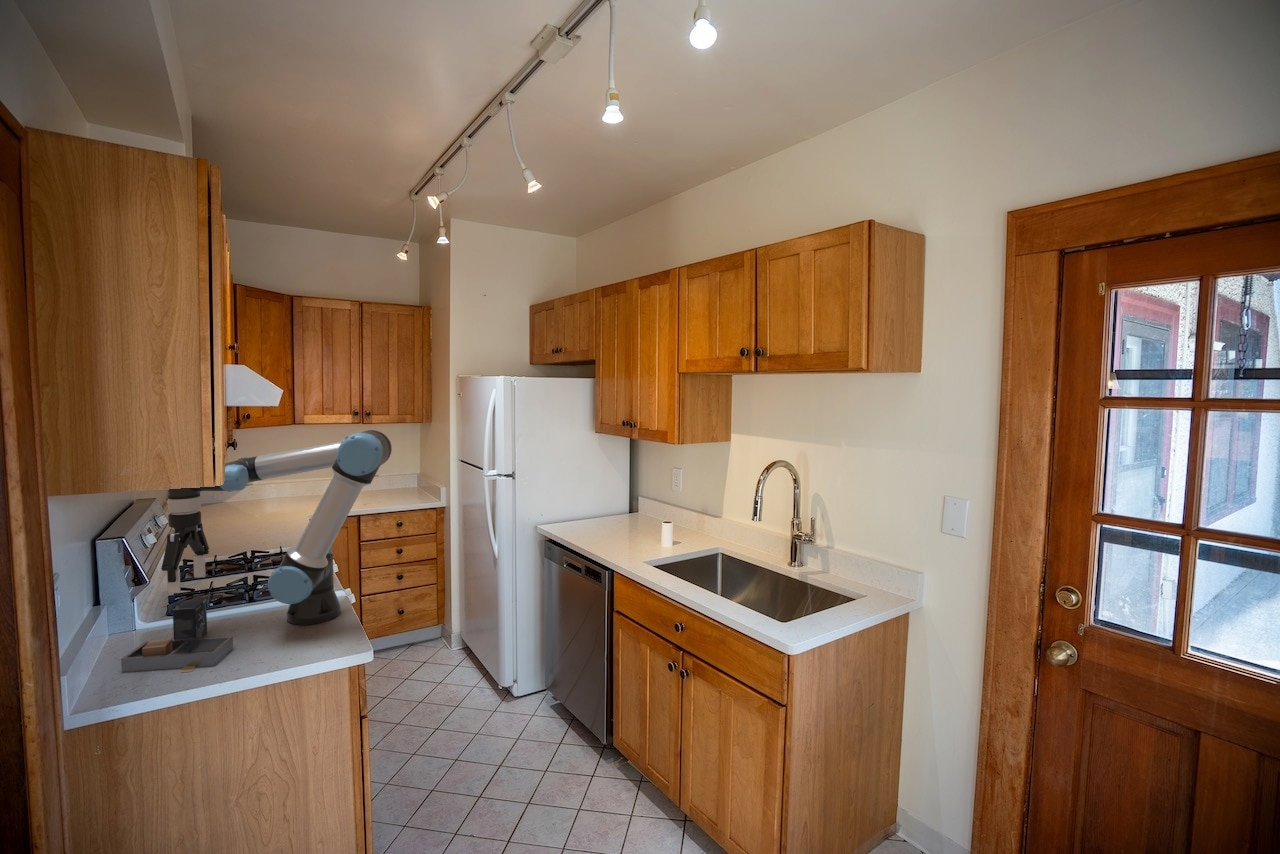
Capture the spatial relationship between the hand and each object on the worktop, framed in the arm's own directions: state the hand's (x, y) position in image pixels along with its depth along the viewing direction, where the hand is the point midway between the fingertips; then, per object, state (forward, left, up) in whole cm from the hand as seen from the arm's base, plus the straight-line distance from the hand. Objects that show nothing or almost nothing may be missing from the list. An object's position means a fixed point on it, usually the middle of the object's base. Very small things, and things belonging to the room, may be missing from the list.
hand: (187, 584), depth 178 cm
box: (0, 0, -16) cm, 16 cm away
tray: (+15, +4, -16) cm, 23 cm away
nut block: (+14, -1, -16) cm, 22 cm away
